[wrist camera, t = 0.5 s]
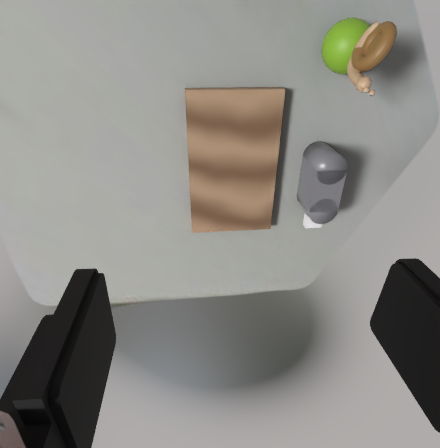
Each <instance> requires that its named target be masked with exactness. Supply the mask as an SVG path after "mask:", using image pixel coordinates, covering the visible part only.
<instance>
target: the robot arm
mask: <svg viewBox="0 0 440 448" xmlns="http://www.w3.org/2000/svg"><path fill="white" fill-rule="evenodd" d="M370 327H371V330H372V332H373V333H374V335H375V336H376V338H377V340H378V341H379V343H380V344H381V346H382V347H383V349H384V350H385V352H386V354H387V355H388V357H389V358H390V360H391V361H392V363H393V364H394V366H395V367H396V369H397V371H398V372H399V374H400V376H401V377H402V379H403V380H404V382H405V383H406V385H407V386H408V388H409V390H410V391H411V393H412V394H413V396H414V397H415V399H416V401H417V402H418V404H419V405H420V407H421V408H422V410H423V412H424V413H425V415H426V416H427V418H428V419H429V421H430V423H431V424H432V426H433V427H434V428H435V430H437V431H438V432H440V278H439V277H438V276H437V275H436V274H434V273H433V272H432V271H431V270H430V269H429V268H428V267H427V266H426V265H425V264H424V263H423V262H422V261H420V260H419V259H399V260H397V261H396V263H395V264H393V265H392V266H391V268H390V270H389V273H388V276H387V278H386V281H385V283H384V286H383V289H382V291H381V294H380V297H379V299H378V302H377V304H376V307H375V310H374V312H373V315H372V317H371V320H370ZM115 343H116V333H115V327H114V323H113V317H112V312H111V307H110V302H109V297H108V292H107V287H106V281H105V277H104V274H103V273H98V271H97V269H77V270H75V272H74V273H73V275H72V278H71V280H70V282H69V284H68V286H67V288H66V290H65V292H64V294H63V296H62V298H61V300H60V302H59V304H58V306H57V309H56V311H55V313H54V315H46V316H45V317H44V318H43V319H42V320H41V322H40V324H39V326H38V327H37V329H36V331H35V333H34V335H33V337H32V339H31V341H30V343H29V345H28V347H27V349H26V351H25V353H24V355H23V356H22V359H21V360H20V363H19V364H18V366H17V368H16V370H15V372H14V374H13V376H12V378H11V380H10V382H9V383H8V385H7V387H6V389H5V391H4V393H3V395H2V397H1V399H0V448H91V446H92V442H93V437H94V434H95V429H96V425H97V421H98V416H99V412H100V408H101V403H102V399H103V395H104V391H105V386H106V382H107V378H108V374H109V369H110V365H111V360H112V356H113V351H114V348H115Z"/></svg>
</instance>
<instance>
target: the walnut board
mask: <svg viewBox="0 0 440 448" xmlns="http://www.w3.org/2000/svg"><path fill="white" fill-rule="evenodd" d="M284 98H285V88H283V87H238V88H185V99H186V118H187V138H188V158H189V178H190V198H191V218H192V233H197V232H217V231H237V230H258V229H270V228H271V219H272V210H273V200H274V191H275V182H276V172H277V163H278V154H279V144H280V135H281V126H282V116H283V107H284Z"/></svg>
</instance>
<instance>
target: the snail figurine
mask: <svg viewBox="0 0 440 448" xmlns="http://www.w3.org/2000/svg"><path fill="white" fill-rule="evenodd" d="M379 24H380V23H379V22H376V23H374V24H373V25H371V26H370V25H369V24H368V23H367V22H365V21H364V20H362V19H359V18H347V19H344V20H342V21H340V22H338V23H337V24H335V25H334V26H333V27H332V28H331V29H330V30H329V31H328V33H327V35H326V36H325V39H324V41H323V45H322V57H323V61H324V63H325V65H326V66H327V67H328V68H329V69H330V70H331V71H333V72H335V73H338V74H348V77H349V79H350V81H351V82H352V83H353V84H354V85H355V86H356V89H357V90H358V91H359V92H364V93H369V95H370V96H373V95H375V91H374V90H370V89H369V88H370V86H371V79H370V78H369V77H368V76H363V75H362V73H361V72H365V71H369V70H371V69H373V68H374V67H376V66H377V65H378V64H379V63H380V62H381V61H382V60H383V59H384V58H385V57H386V56H387V54H388V53H389V51H390V50H391V48H392V46H393V44H394V42H395V39H396V35H397V28H396V26H395V24H394V23H393V22H389V21H387V22H383V23H381V24H380V25H379ZM369 90H370V91H369Z"/></svg>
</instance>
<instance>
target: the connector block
mask: <svg viewBox="0 0 440 448" xmlns="http://www.w3.org/2000/svg"><path fill="white" fill-rule="evenodd" d="M347 170H348V164H347V161H346V159H345V158H344V157H342V156H341V155H340V154H339V153H337V152H336V151H335V150H334V149H332V148H331V147H330V146H329V145H328V144H326V143H325V142H321V141H318V142H314V143H312V144H310V145H309V146H308V147H307V148H306V149H305V151H304V153H303V158H302V165H301V172H300V178H299V185H298V192H297V199H298V201H299V202H300V204H301V205H302V207H303V209H304V210H305V212H306V213H305V215H304V221H303V225H304V226H305V228H321V226H322V224H325V223H328V222H329V221H331V220H332V219H333V218H334V217H335V216H336V214H337V212H338V208H339V204H340V200H341V195H342V191H343V187H344V182H345V178H346V174H347Z"/></svg>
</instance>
